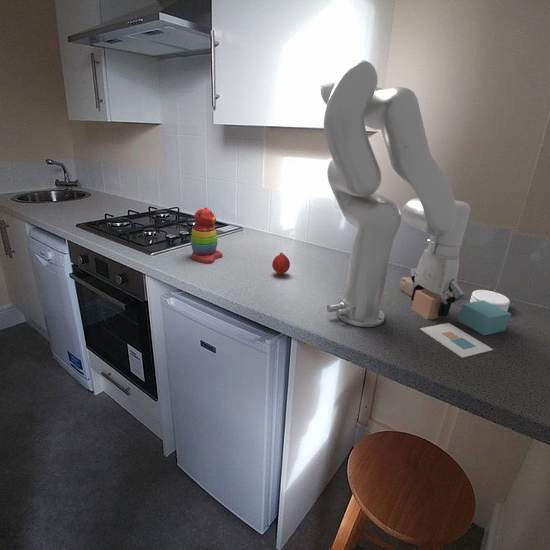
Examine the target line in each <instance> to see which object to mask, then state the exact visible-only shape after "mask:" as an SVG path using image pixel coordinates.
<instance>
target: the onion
mask: <svg viewBox="0 0 550 550" xmlns="http://www.w3.org/2000/svg"><path fill="white" fill-rule="evenodd" d="M271 267H272V269H273V271H274V272H275V273H277V274H278V275H279V276H282V275H284V274H286V273H287V272H288V271H289V269H290V267H291V263H290V260H289V258H288V256H286V255H285V254H284V252H282V251H281V252H280V253H279V254H278V255H276V256H275V257H274V258H273V260H272V263H271Z"/></svg>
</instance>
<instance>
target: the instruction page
mask: <svg viewBox="0 0 550 550" xmlns="http://www.w3.org/2000/svg"><path fill="white" fill-rule="evenodd" d="M419 329H420V331H422V332H423V333H424V334H426V335H428V336H429V337H431V338H432V339H434V340H435V341H437V342H438V343H439V344H441V345H442V346H444V347H446V348H447V349H448V350H450V351H451V352H453V353H454V354H456V355H457V356H459V357H460V358H462V359H463V358H467V357H470V356H475V355H479V354H482V353H486V352H491V351H493V350H494V348H491V347H490V346H489V345H487V344H485V343H484V342H481V341H480V340H478V339H477V338H475V337H473V336H472V335H470V334H468V333H467V332H464V331H463V330H461V329H460V328H458V327H456V326H455V325H453V324H451V323H450V322H446V323H441V324H437V325H431V326H425V327H420V328H419Z"/></svg>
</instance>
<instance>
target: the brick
mask: <svg viewBox="0 0 550 550" xmlns="http://www.w3.org/2000/svg"><path fill="white" fill-rule="evenodd" d="M411 277H412V276H407V277H406V276H403V277H401V278H400V282H399V288H400V290H401V291H402V292H403V293H405V294H406V295H408V296H409V297H411V298H412V294H413V289H414V287H413V286H412V284H413V282H412V279H411ZM456 284H457V285H458V283H457V282H456ZM424 289H425V288H424ZM452 295H453V296H454V291H453V293H452ZM446 296H447V294H446Z"/></svg>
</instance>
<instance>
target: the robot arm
mask: <svg viewBox="0 0 550 550" xmlns="http://www.w3.org/2000/svg"><path fill="white" fill-rule="evenodd" d="M378 79H379V78H378V74H377V69H376V68H375V67H374V65H373V64H372V63H371V62H370V61H368V60H365V59H356V60H355V59H354V60H351V61H348V62H346V63H343V64H341V65H339V66H336V67H333V68H332V69H330V70H329V71H328V72H327V73H326V74H325V76H324V77H323V78H322V80H321V84H320V95H321V98H322V101H323V102H324V104H326V108H325V112H324V118H323V134H324V139H325V141H326V144H327V148H328V150H329V152H330V156H331V160H330V161H329V164H328V167H327V180H328V183H329V184H328V185H329V186H330V189H331V190H332V193H333V196H334V198H335V200H336V202H337V204H338V206H339V208H340V211H341V213H342V215H343V217H344V218H345V220H346V221H347V222H348V223H349V224H350V225H351V226H353V227H355V228H356V229H358V230H357V233H356V236H355V238H354V240H353V242H352V245H351V249H350V255H349V261H348V263H349V264H348V269H347V276H346V283H345V289H344V295H343V297H341V298H340V300H339V301H338V302H337V303H332V304H327V305H326V310H327V312H328V313H333V312H334V313H335V314H336V316H337V317H338V318H339V319H340V320H341V321H343V322H345V323H346V324H349V325H351V326H352V325H353V326H355V327H362V328H372V327H373V328H374V327H377V326H380V325H382V324H383V323H384V321H385V313H384V312H383V311H382V310H381V304H382V301H383V300H382V299H383V295H384V290H385V285H386V280H387V275H388V268H389V265H390V264H389V263H390V258H391V253H392V249H393V246H394V243H395V240H396V237H397V234H398V233H399V230H400V228H401V223H402V219H403V221H404V222H405V223H406V224H408V225H409V226H411V227H413V228H415V229H417V230H420V231H421V232H424V233H426V234H427V235H430V236H429V238H428V239H427V240H426V243H427V244H428V245H427V248H426V249H424V250H423V252H422V255H420V256H421V257H420V259H419V262H418V265H417V267H415V268H411V269H410V274H411V276H410V277H411V279H412V282H413V284H412V286H413V287H414V289H413V294H412V297H411V301H412V302H413V300H414V296H415V292H416V290H422V289H424V288H425V289H427V290H429V291H431V292H433V293H435V294H437V295H441V298H442V301H443V302H442V303H440V307H439V310H438V314H437V315H438V316H439V317H438V318H442V316H443V317H447V316H448V315H449V313H450V309H451V305H452V304H454V303H455V302H458V301H459V300H460V299H461V298H462V297H463V296H464V291H463V290H462V288H461V287H460V286H459V285H458V283H457V282H458V281H457V280H458V275H459V269H460V258H459V254H460V250H461V245H462V244H463V243H462V242H463V238H464V235H465V231H466V227H467V224H468V219H469V217H470V213H471V206H470V204H469V203H467V202H466V201H461V200H455V196H454V192H453V189H452V186H451V184H450V182H449V179H447V177H446V175H445V173H443V171H442V169H441V167H440V166H439V164H438V163H437V161H436V160H435V158H434V157H433V156H432V154H431V151H430V148H429V147H430V146H429V144H428V143H429V142H428V138H427V135H426V134H427V133H426V130H425V126H424V122H423V117H422V112H421V108H420V105H419V100H418V97H417V95H416V94H415V92H414V91H413V90H411V89H410V88H407V87H401V86H399V87H398V86H397V87H391V88H385V89H383V88H380V87H378V83H379V82H378ZM366 127H367V128H370V129H373V130H380V131H381V134H382V137H383V142H384V144H385V146H386V151H387V154H388V157H389V161H390V166H391V168H392V169H393V171H394V172H395V173H396V174H397V175H398V176H399V178H401V179H402V180H403V181H404V182H406V184H408V186H410V187H411V189H413V191H414V192H415V194H416V196H417V197H414V198H411V199H409V200H408V201H406V202H405V204H404V205H403V207H402V209H401V210H400V207H399V206H398V205H397V204H396V203H395V201H393V200H392V199H390V198H388V197H386V196H384V195H381V194H378V193H376V192H377V191H378V189H379V188H380V186H381V183H382V173H381V172H382V171H381V167H380V166H379V163H378V161H377V158H376V155H375V152H374V150H373V147H372V144H371V142H370V140H369V137H368V133H367V129H366ZM456 283H457V284H456ZM453 291H454V295H452V293H453ZM446 294H447V296H448V299H447V297H446Z"/></svg>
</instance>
